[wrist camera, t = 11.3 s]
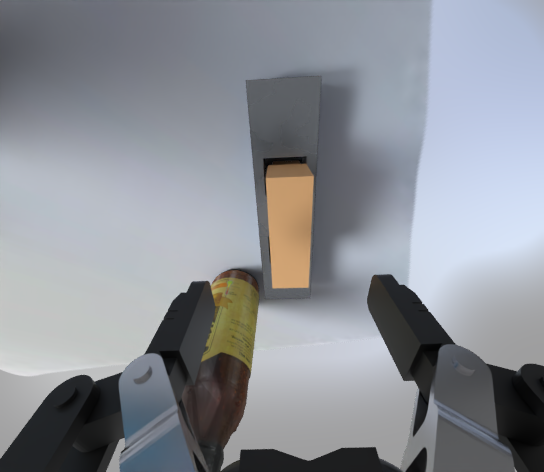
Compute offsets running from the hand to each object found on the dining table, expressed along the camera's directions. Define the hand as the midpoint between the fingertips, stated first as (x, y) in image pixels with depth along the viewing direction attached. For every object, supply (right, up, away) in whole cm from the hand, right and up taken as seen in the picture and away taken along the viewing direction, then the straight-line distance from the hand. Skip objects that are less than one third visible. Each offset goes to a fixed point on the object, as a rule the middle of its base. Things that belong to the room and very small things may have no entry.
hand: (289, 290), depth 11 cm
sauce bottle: (-6, -4, +17) cm, 19 cm away
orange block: (+1, +6, +11) cm, 13 cm away
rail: (0, +6, +11) cm, 13 cm away
